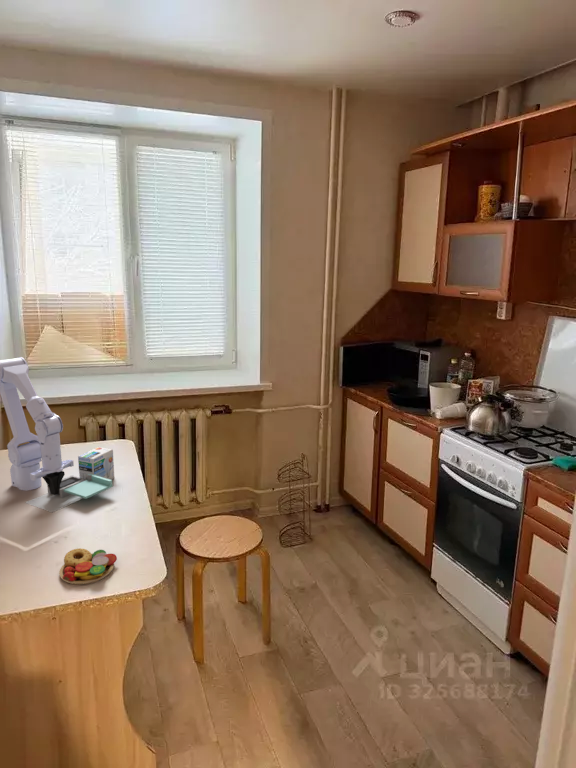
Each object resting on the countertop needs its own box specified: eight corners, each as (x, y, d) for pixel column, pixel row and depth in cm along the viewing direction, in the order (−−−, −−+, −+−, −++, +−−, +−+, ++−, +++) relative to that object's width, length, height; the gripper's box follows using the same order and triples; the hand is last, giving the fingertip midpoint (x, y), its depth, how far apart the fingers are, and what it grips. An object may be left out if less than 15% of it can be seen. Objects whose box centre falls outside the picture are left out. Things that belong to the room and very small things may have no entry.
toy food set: (69, 558, 141) (68, 546, 140) (120, 556, 142) (120, 545, 142) (52, 588, 128) (51, 576, 127) (109, 586, 129) (108, 574, 129)
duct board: (24, 504, 170) (23, 493, 169) (72, 485, 185) (71, 474, 184) (52, 514, 163) (51, 503, 163) (99, 493, 179) (98, 482, 178)
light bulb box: (95, 489, 182) (93, 458, 180) (79, 485, 185) (76, 456, 182) (115, 477, 192) (113, 448, 190) (99, 474, 194) (97, 446, 192)
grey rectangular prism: (55, 493, 176) (54, 485, 175) (71, 487, 181) (70, 479, 180) (61, 495, 175) (60, 487, 174) (76, 489, 180) (76, 480, 179)
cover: (86, 498, 166) (85, 491, 165) (63, 491, 170) (63, 484, 170) (112, 486, 175) (112, 480, 174) (90, 480, 179) (90, 473, 179)
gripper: (39, 463, 163) (43, 504, 166) (78, 449, 175) (81, 488, 178) (24, 459, 166) (28, 499, 169) (64, 445, 179) (67, 483, 182)
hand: (54, 493), depth 174 cm, fingers closed
